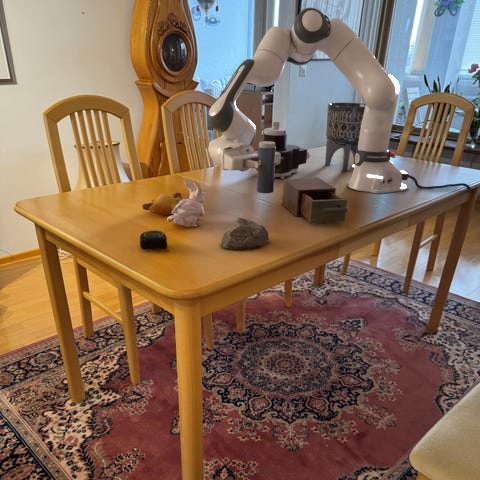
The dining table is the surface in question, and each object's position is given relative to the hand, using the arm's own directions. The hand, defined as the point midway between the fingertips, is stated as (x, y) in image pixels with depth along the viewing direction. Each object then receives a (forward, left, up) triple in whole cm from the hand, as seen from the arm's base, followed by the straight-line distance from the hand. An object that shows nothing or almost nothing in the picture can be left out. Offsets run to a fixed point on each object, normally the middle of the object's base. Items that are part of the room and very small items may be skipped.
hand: (267, 164), depth 143 cm
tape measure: (+38, +29, -15) cm, 50 cm away
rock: (+14, +30, -15) cm, 37 cm away
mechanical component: (-21, -50, -15) cm, 56 cm away
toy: (+33, -3, -15) cm, 36 cm away
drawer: (-13, +15, -14) cm, 25 cm away
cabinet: (-13, +3, -14) cm, 20 cm away
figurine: (+28, +11, -15) cm, 33 cm away
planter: (-55, -58, -15) cm, 81 cm away
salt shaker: (0, -1, -9) cm, 9 cm away
